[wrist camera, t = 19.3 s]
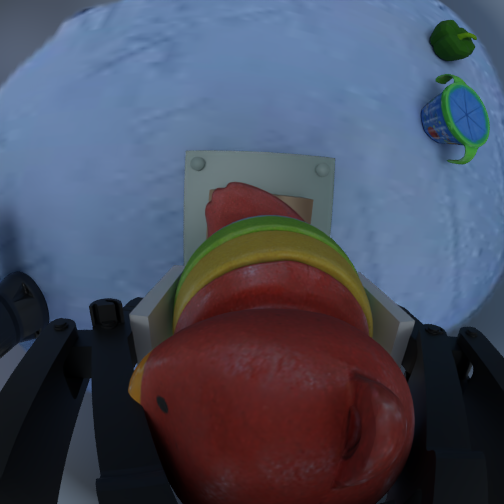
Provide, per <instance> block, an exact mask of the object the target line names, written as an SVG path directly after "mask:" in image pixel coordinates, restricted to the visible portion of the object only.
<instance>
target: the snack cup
mask: <svg viewBox="0 0 504 504" xmlns="http://www.w3.org/2000/svg"><path fill="white" fill-rule="evenodd" d="M452 78H453V79H454V83H453V84H450V85H449V86H447V87H446V88H445V89H444V90H443V92H442V93H441V94H440V95H438V96H437V97H435V98H434V99H433V100H432V101H430V102H429V103H428V104H427V105H426V106H425V107H424V108H423V109H422V112H421V113H422V117H421V119H422V123H423V126H424V130H425V132H426V133H427V134H428V135H429V136H430V137H431V138H432V139H433V140H434V141H436V142H438V143H444V144H445V143H446V144H458V145H464V146H465V156H464V157H463V158H461V159H460V160H447V161H448V162H450V163H455V164H466V163H468V162H469V161H471V160H472V159H473V158H474V156H475V154H476V152H477V149H478V147H480V146H482V145H483V144H485V142H486V141H487V139H488V136H489V130H490V124H489V118H488V114H487V111H486V108H485V106H484V104H483V102H482V100H481V99H480V97H479V96H478V95H477V94H476V92H475V91H474V90H473V89H471V88H470V87H469V86H467V85H466V84H465V82H464V81H463V80H462V79H460V78H459V77H457V76H454V75H451V74H444V75H441V76H438V77H437V78H436V82H438V83H441V84H446V82H448V81H449V80H450V79H452Z"/></svg>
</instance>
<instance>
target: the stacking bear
mask: <svg viewBox="0 0 504 504" xmlns="http://www.w3.org/2000/svg"><path fill="white" fill-rule="evenodd" d="M205 217H206V222H207V227H208V239H207V240H205V241H204V242H203V243H202V244H201V245H200V246H199V247H198V249H197V250H196V251H195V252H194V253H193V255H192V256H191V257H190V259H189V261H188V262H187V264H186V266H185V268H184V270H183V272H182V275H181V277H180V280H179V283H178V286H177V290H176V295H175V300H174V308H173V328H172V332H173V335H172V336H171V337H169V338H168V339H166V340H165V341H163V342H162V343H160V344H159V345H158V346H156V347H155V348H154V349H153V350H152V351H151V352H149V353H148V354H147V355H146V356H145V357H144V358H143V359H142V360H141V362H140V363H139V365H138V366H137V367H136V369H135V370H134V372H133V374H132V377H131V379H130V381H129V385H128V392H129V394H130V396H131V397H132V398H133V399H134V400H135V401H136V402H138V403H139V404H140V405H142V406H143V409H144V413H145V416H146V420H147V423H148V426H149V429H150V433H151V436H152V439H153V442H154V445H155V448H156V451H157V454H158V456H159V459H160V462H161V465H162V467H163V470H164V472H165V474H166V477H167V479H168V482H169V484H170V485H171V487H172V489H173V490H174V492H175V493H176V495H177V497H178V498H179V499H180V500H181V502H182V503H183V504H376V503H377V502H378V501H379V500H380V499H381V498H382V497H383V496H384V495H385V494H386V493H387V492H388V491H389V490H390V489H391V487H392V486H393V485H394V483H395V482H396V480H397V479H398V477H399V476H400V474H401V472H402V470H403V468H404V466H405V464H406V462H407V459H408V457H409V454H410V451H411V447H412V442H413V437H414V426H415V418H414V407H413V400H412V396H411V393H410V389H409V386H408V384H407V381H406V379H405V377H404V375H403V373H402V372H401V370H400V368H399V366H398V365H397V363H396V362H395V361H394V359H393V358H392V357H391V355H390V354H389V353H388V352H387V351H386V350H385V349H384V348H383V347H382V346H381V345H380V344H379V343H377V342H376V341H375V340H374V339H373V338H372V337H373V319H372V312H371V308H370V304H369V300H368V298H367V295H366V292H365V290H364V287H363V285H362V283H361V281H360V278H359V276H358V273H357V271H356V270H355V268H354V266H353V264H352V263H351V261H350V260H349V258H348V257H347V255H346V254H345V252H344V251H343V250H342V249H341V248H340V247H339V246H338V244H337V243H336V242H335V241H334V240H333V239H331V238H330V237H329V236H328V235H326V234H325V233H324V232H322V231H321V230H319V229H318V228H316V227H314V226H312V225H311V224H308V223H306V222H305V221H304V219H303V218H302V217H301V216H300V215H299V214H298V213H297V212H296V211H295V210H294V209H292V208H291V207H290V206H289V205H288V204H286V203H285V202H283V201H282V200H281V199H279V198H278V197H276V196H274V195H272V194H271V193H269V192H267V191H265V190H262V189H260V188H258V187H255V186H252V185H249V184H246V183H242V182H230V183H228V184H227V186H226V187H225V188H217V189H215V190H214V191H213V193H212V199H211V201H210V202H208V203H207V205H206V208H205Z"/></svg>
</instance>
